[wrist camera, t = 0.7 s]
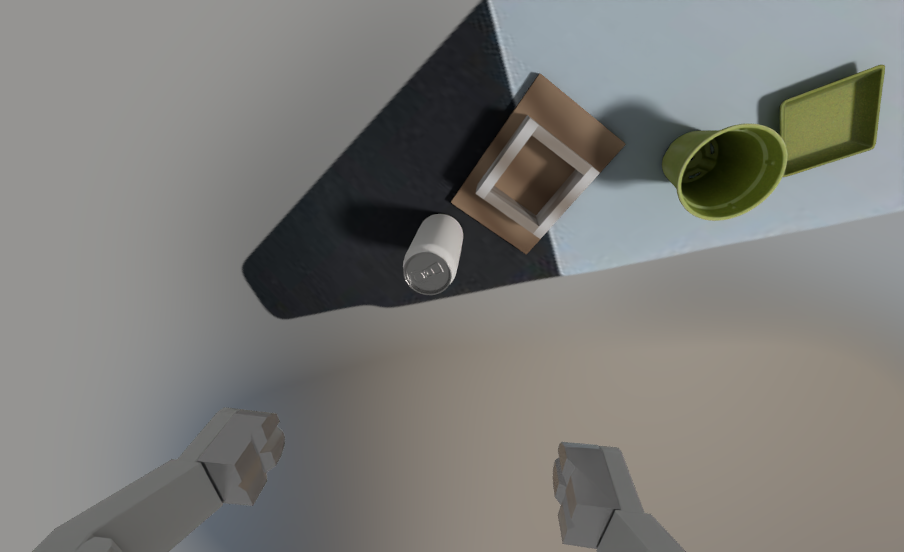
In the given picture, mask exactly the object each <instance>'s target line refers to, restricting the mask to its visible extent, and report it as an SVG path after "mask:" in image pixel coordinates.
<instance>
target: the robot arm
mask: <svg viewBox="0 0 904 552" xmlns="http://www.w3.org/2000/svg"><path fill="white" fill-rule="evenodd" d="M279 422H280V421H279V418H278V416H277V414H274V413H267V412H258V411H250V410H243V409H233V408H223V409H221V410H220V411H218V412H217V413H216V414H215V416H214V417H213V418H212V419H211V420H210V422H209V423H208V424H207V425H206V426H205V427H204V428H203V430H202V431H201V432H200V433H199V434H198V436H197V437H196V438H195V439H194V440H193V441H192V443H191V444H190V445H189V446H188V447H187V448H186V450H185V451H184V452H183V453H182V454H181V456H180V457H179V458H178V459H177V460H174V459H171V460H170V461H168V462H166V463H165V464H163V465H161V466H160V467H158V468H157V469H155V470H153V471H151V472H149V473H148V474H146V475H145V476H143V477H141V478H140V479H138V480H136V481H135V482H133V483H131V484H129V485H128V486H126V487H124V488H123V489H121V490H119V491H118V492H116V493H114V494H113V495H111V496H109V497H108V498H106V499H104V500H102V501H101V502H99V503H98V504H96V505H94V506H92V507H91V508H89V509H87V510H86V511H84V512H82V513H81V514H79V515H77V516H76V517H74V518H72V519H71V520H69V521H67V522H66V523H64V524H62V525H61V526H59V527H57V528H55V529H54V531H52V532H51V533H50V534H49V535H48V536H47V537H46V538H45V539H44V540H43V541H42V542H41V544H39V545H38V546H37V547H36V548H35V549H34V550H33V551H32V552H169V551H170V550H171V549H173V548H174V547H175V546H176V545H177V544H178V543H180V542H181V541H182V540H183V539H184V538H185V537H186V536H188V535H189V534H190V533H191V532H192V531H193V530H195V529H196V528H197V527H198V526H199V525H200V524H202V523H203V522H204V521H205V520H206V519H207V518H209V516H211V515H212V514H213V513H214V512H215V511H217V510H218V509H219V508H220V507H221V506H222V505H223V504H222V503H228V504H239V505H250V506H253V505H254V503H255V501H256V500H257V498H258V496H259V494H260V493H261V491H262V489H263V487H264V486H265V484H266V482H267V475H266V473H267V472H268V471H269V470H271V469H272V468H273V467H275V466H276V465H277V462H278V461H279V459H280V457H281V455H282V452H283V449H284V444H285V436H284V433H283V431H282V430H281V429H280V428H278V427H277V425H278V423H279ZM558 454H559V458H558V459H556V460H555V463H554V467H553V487H554V494H555V498H556V499H557V500H558V502H559V503H560V504H561V506H560V510H559V513H558V519H559V524H560V530H561V537H562V542H563V544H568V545H574V546H581V547H587V548H594V549H597V552H686V551H685V550H684V549H683V548H682V547H681V546H680V545H679V544H678V543H677V541H675V539H674V538H673V537H672V536H671V535H670V534H669V533H668V532H667V531H666V530H665V529H664V528H663V527H662V526H661V524H660V523H659V522H658V521H657V520H656V519H655V518H654V517H653V516H652V515H651V514H647V513H644V510H643V508H642V505H641V502H640V499H639V497H638V494H637V491H636V489H635V486H634V483H633V481H632V478H631V475H630V473H629V470H628V467H627V465H626V462H625V459H624V457H623V454H622V452H621V450H620V449H619V448H617V447H607V446H598V445H591V444H580V443H568V442H561V443H560V444H559V448H558Z"/></svg>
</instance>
